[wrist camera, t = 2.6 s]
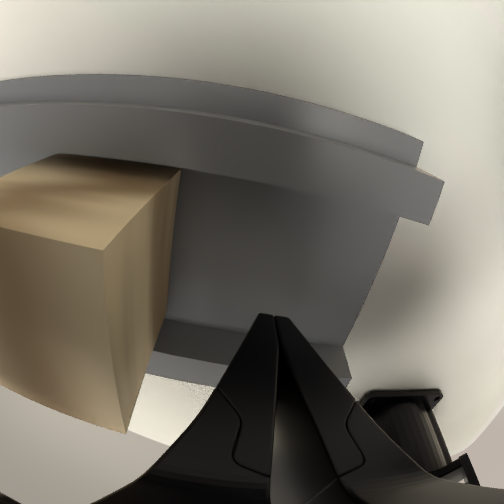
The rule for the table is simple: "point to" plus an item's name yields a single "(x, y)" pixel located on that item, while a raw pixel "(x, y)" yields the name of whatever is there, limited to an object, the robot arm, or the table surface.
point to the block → (84, 281)
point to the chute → (238, 201)
